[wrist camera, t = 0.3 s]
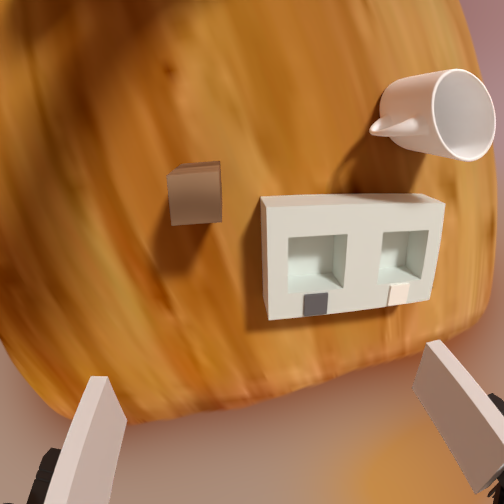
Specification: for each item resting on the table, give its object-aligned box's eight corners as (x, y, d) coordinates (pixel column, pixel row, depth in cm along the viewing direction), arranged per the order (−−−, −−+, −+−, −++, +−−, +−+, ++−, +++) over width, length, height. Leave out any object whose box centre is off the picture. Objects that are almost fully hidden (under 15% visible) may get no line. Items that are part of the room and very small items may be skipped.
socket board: (260, 196, 34) (266, 208, 29) (421, 193, 35) (446, 204, 30) (263, 297, 38) (268, 321, 33) (410, 282, 40) (430, 300, 35)
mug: (339, 95, 30) (386, 83, 21) (423, 73, 30) (482, 64, 20) (364, 168, 34) (416, 185, 24) (443, 139, 33) (502, 149, 23)
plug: (181, 163, 32) (166, 175, 24) (219, 161, 32) (218, 171, 24) (184, 201, 33) (171, 225, 25) (222, 198, 34) (221, 222, 25)
